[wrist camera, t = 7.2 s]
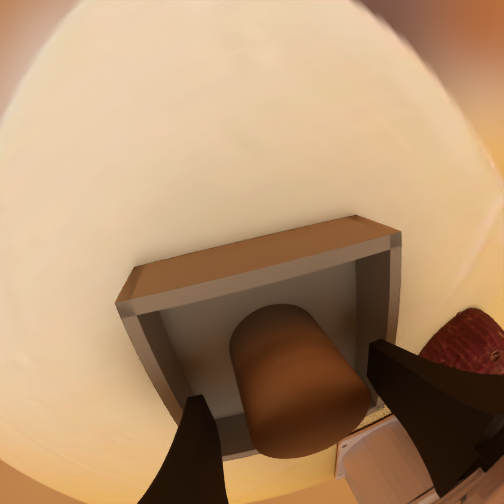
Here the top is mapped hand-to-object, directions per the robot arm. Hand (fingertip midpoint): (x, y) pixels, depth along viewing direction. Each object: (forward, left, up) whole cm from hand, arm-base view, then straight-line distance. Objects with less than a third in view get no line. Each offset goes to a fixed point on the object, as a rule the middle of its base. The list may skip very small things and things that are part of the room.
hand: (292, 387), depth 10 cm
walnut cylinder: (0, 0, -3) cm, 3 cm away
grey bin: (0, 0, -4) cm, 4 cm away
